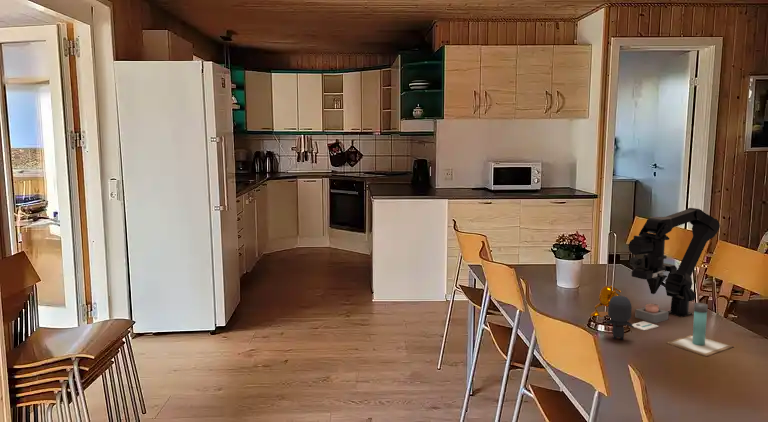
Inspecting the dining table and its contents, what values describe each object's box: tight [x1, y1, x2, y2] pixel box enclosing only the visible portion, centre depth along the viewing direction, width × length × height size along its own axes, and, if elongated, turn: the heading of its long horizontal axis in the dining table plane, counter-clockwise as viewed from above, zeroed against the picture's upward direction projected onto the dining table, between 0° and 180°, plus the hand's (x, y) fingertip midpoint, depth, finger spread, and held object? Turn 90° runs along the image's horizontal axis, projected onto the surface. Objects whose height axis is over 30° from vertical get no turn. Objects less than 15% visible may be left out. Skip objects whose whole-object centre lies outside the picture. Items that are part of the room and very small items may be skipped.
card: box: [631, 320, 659, 332], centre depth 203 cm, size 8×6×1 cm
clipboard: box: [666, 334, 734, 358], centre depth 184 cm, size 15×13×1 cm
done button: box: [645, 303, 660, 313], centre depth 211 cm, size 4×4×4 cm
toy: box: [603, 294, 635, 341], centre depth 189 cm, size 9×8×15 cm
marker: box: [692, 302, 709, 346], centre depth 184 cm, size 4×4×13 cm
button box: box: [634, 306, 670, 324], centre depth 211 cm, size 8×8×3 cm
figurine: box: [589, 285, 623, 317], centre depth 212 cm, size 8×11×12 cm
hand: (653, 293), depth 210 cm, fingers closed
